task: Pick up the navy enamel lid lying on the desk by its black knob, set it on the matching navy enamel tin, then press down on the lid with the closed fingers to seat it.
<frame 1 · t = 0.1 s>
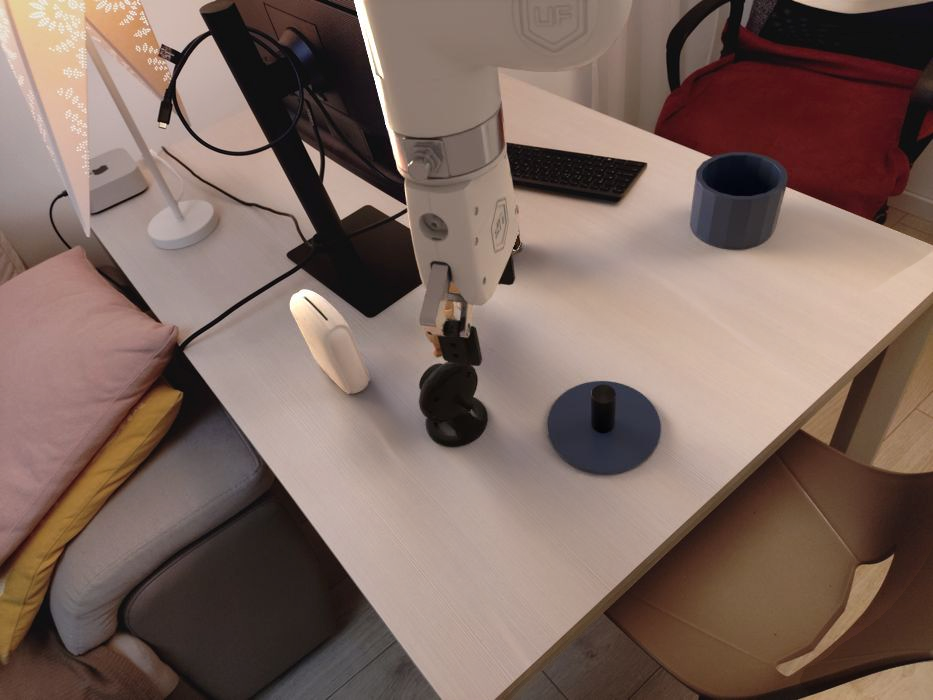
hand: (481, 319, 54), 23 cm above the table, tool pointing down, fingers open, 9 cm apart
webcam: (457, 424, 75), on the table
lid: (602, 426, 71), point 1 cm above the table
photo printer: (343, 371, 84), on the table
tin: (731, 224, 92), on the table
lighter: (498, 257, 96), on the table
lion figurine: (453, 336, 86), on the table
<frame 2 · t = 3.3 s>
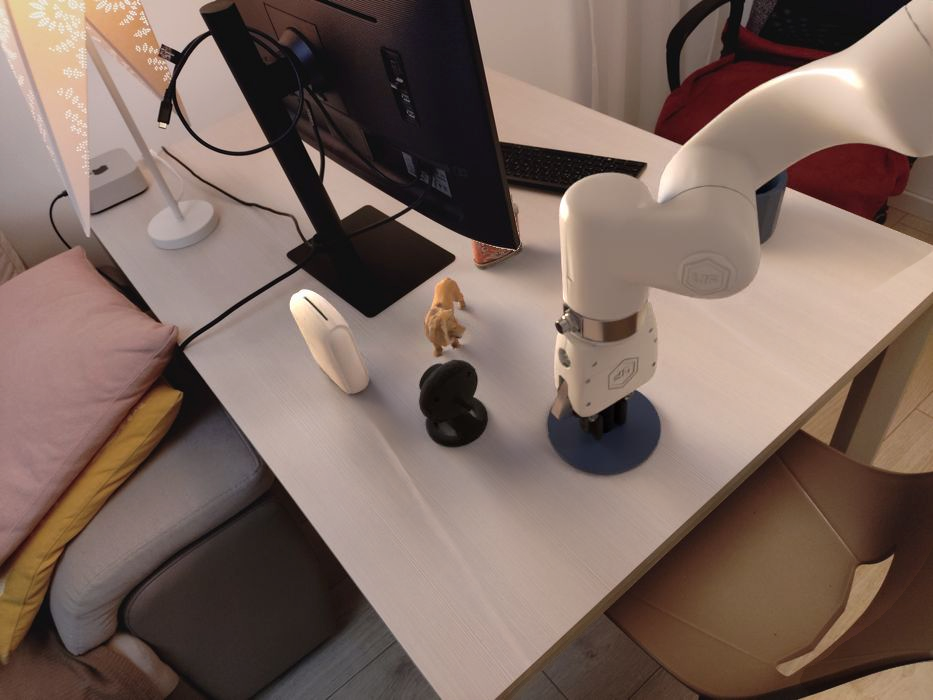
hand: (603, 422, 71), 1 cm above the table, tool pointing down, fingers closed on lid, 2 cm apart
lid: (602, 426, 71), point 1 cm above the table, touching gripper
everything else where it was.
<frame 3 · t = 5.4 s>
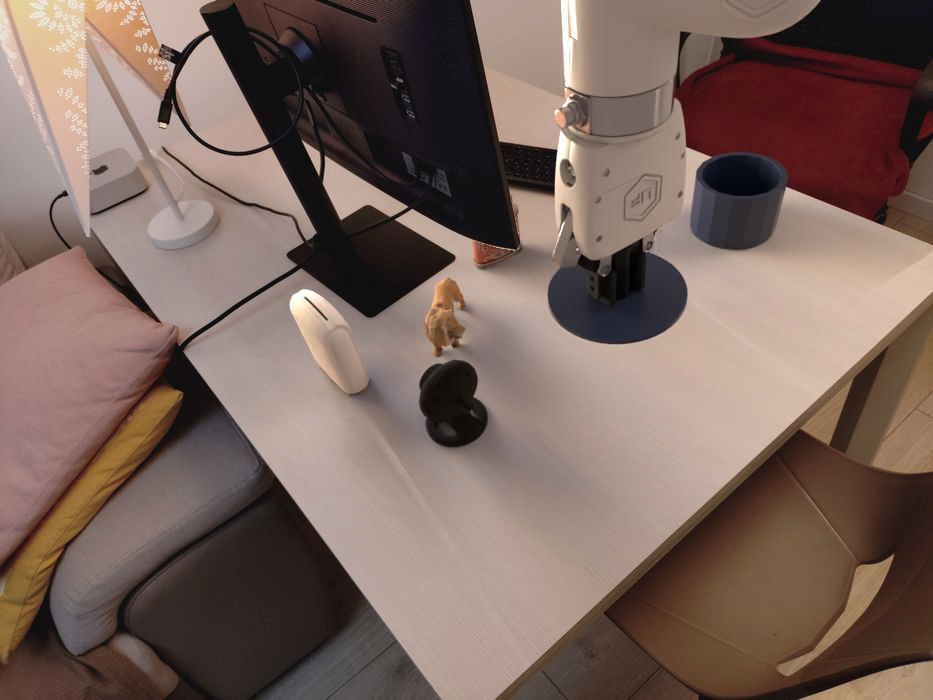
hand: (615, 289, 58), 20 cm above the table, tool pointing down, fingers closed on lid, 2 cm apart
lid: (615, 294, 58), point 20 cm above the table, touching gripper
everything else where it was.
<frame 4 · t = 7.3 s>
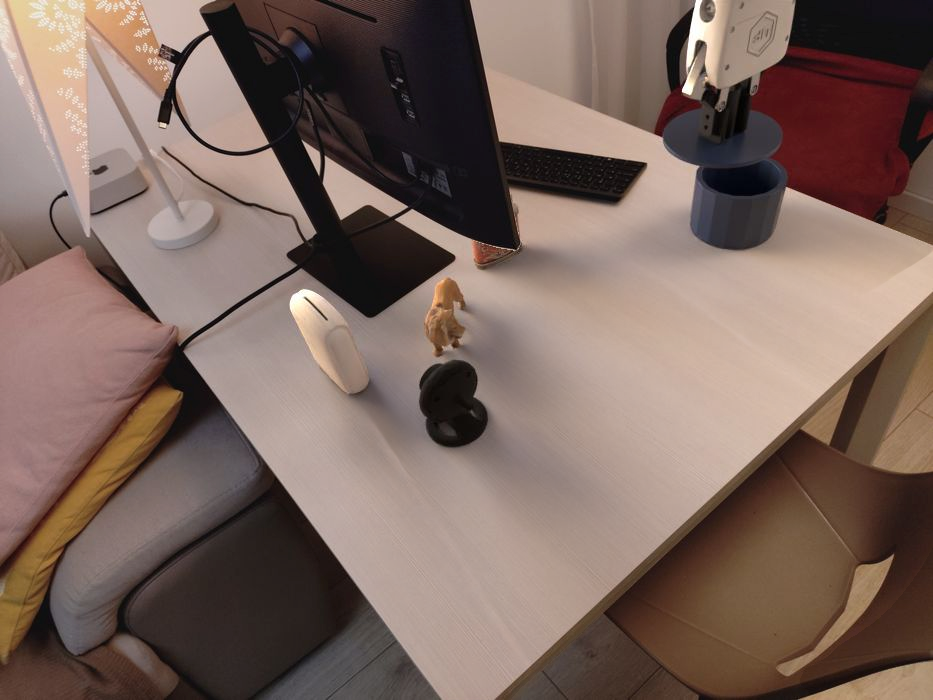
hand: (722, 132, 70), 21 cm above the table, tool pointing down, fingers closed on lid, 2 cm apart
lid: (720, 137, 71), point 21 cm above the table, touching gripper
everything else where it was.
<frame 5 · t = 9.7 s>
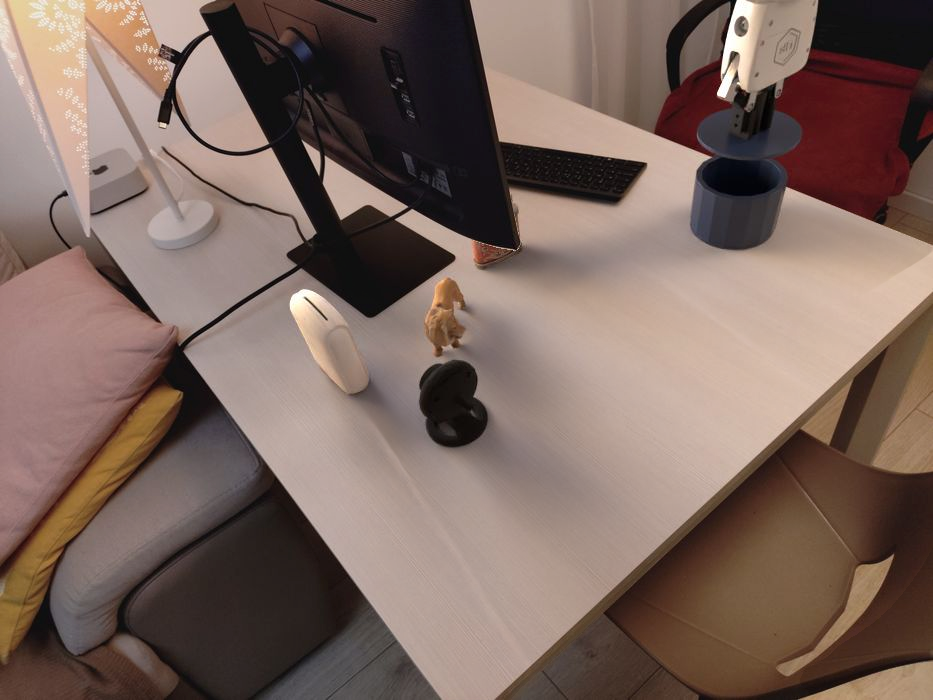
hand: (749, 129, 81), 15 cm above the table, tool pointing down, fingers closed on lid, 2 cm apart
lid: (747, 134, 82), point 14 cm above the table, touching gripper
everything else where it was.
when the fingers open (9 cm above the table, at t = 11.4 s): lid stays where it is, resting on tin.
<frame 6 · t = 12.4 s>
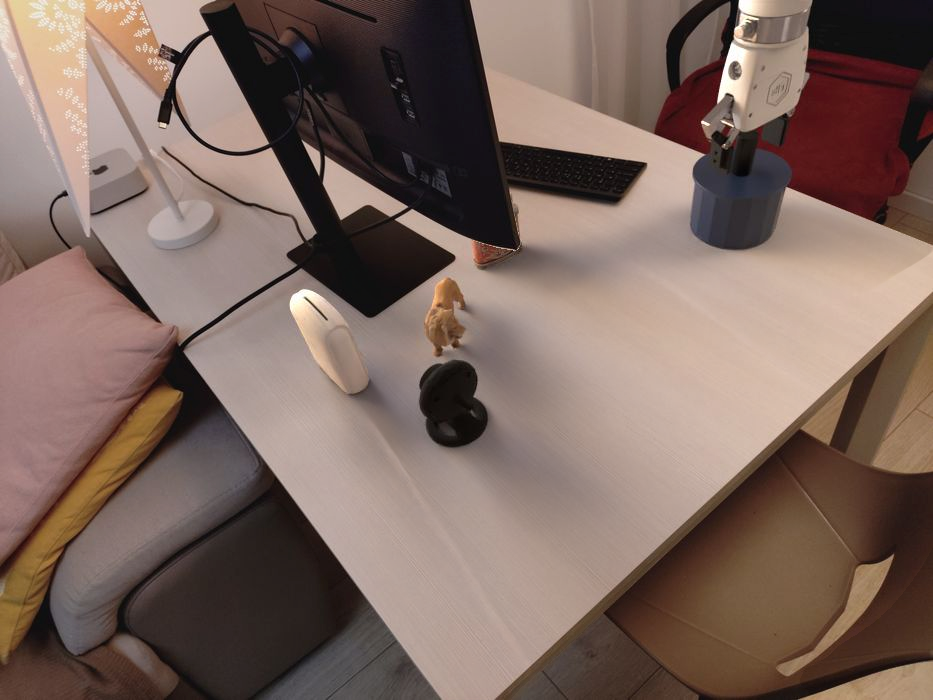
hand: (745, 156, 84), 11 cm above the table, tool pointing down, fingers open, 9 cm apart
lid: (740, 174, 86), point 8 cm above the table, touching tin
everything else where it was.
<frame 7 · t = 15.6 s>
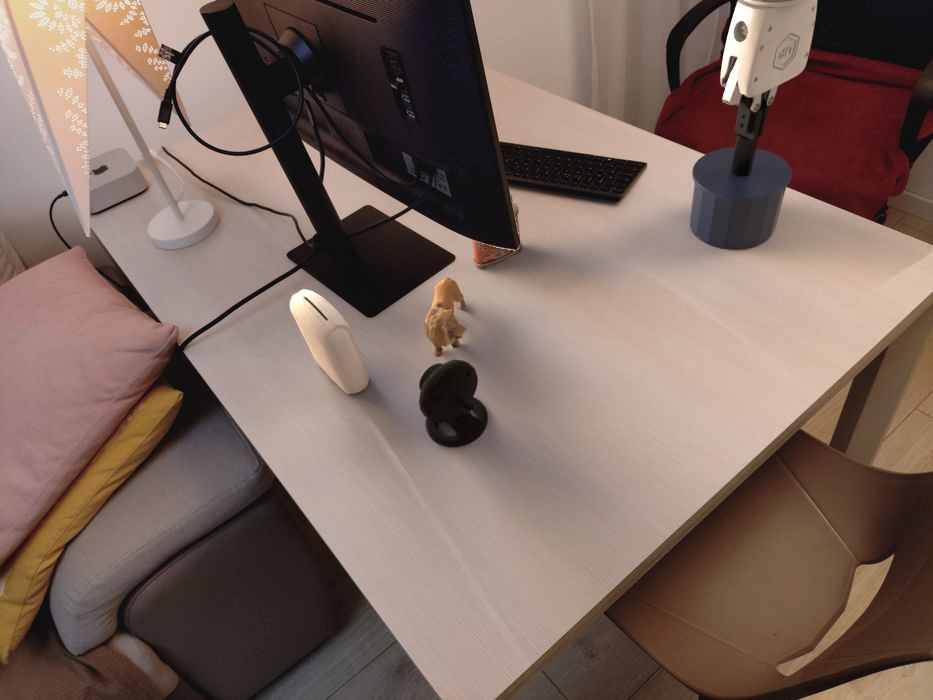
hand: (748, 133, 82), 14 cm above the table, tool pointing down, fingers closed
lid: (740, 174, 86), point 8 cm above the table, touching gripper, tin
everything else where it was.
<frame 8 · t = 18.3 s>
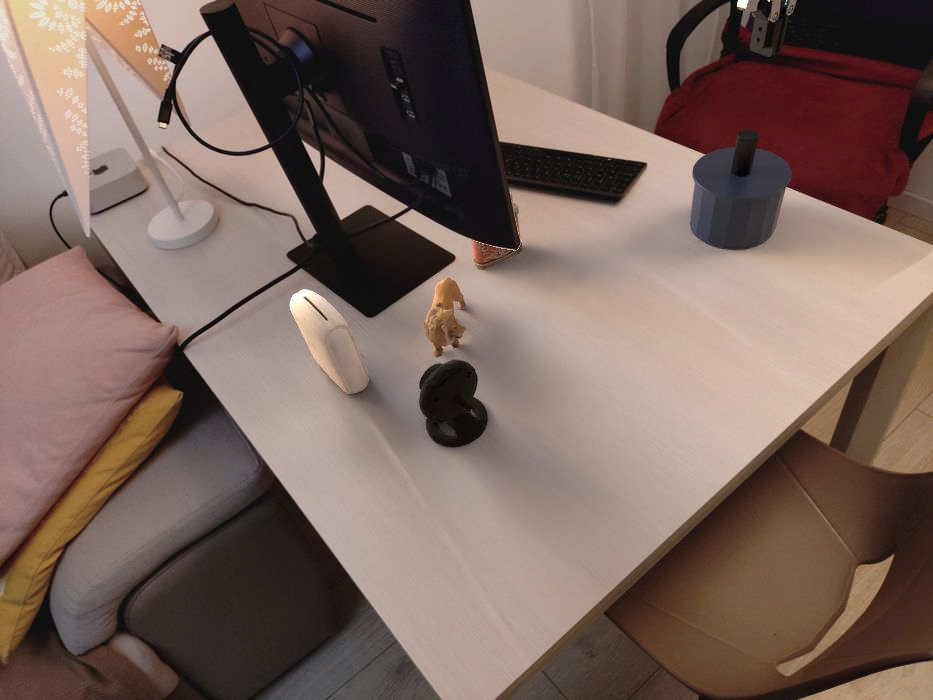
hand: (765, 51, 74), 25 cm above the table, tool pointing down, fingers closed
lid: (740, 174, 86), point 8 cm above the table, touching tin
everything else where it was.
at the end: lid 0.1 cm off-centre on the tin, point 8.4 cm above the tin's base; lid tilted 0°; the gripper is holding nothing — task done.
